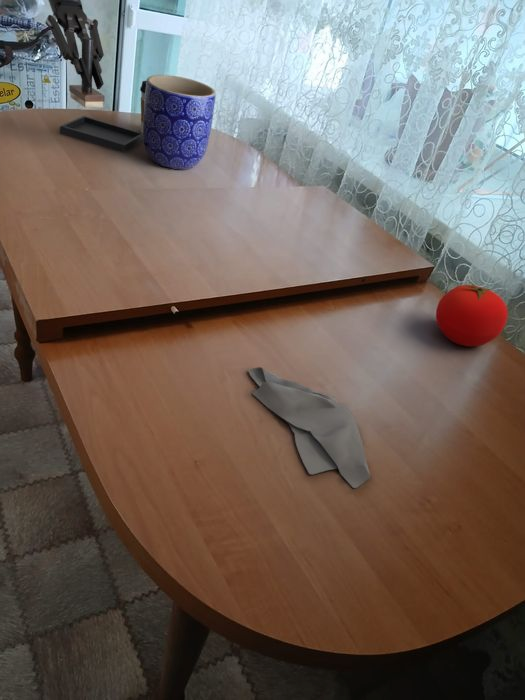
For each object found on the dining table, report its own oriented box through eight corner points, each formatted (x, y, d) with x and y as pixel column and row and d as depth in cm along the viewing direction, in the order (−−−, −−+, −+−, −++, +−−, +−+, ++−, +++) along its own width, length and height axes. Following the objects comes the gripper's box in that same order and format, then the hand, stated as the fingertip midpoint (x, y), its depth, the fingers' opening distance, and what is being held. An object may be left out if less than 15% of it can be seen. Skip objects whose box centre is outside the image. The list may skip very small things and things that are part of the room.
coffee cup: (132, 133, 167) (135, 81, 158) (144, 127, 174) (148, 76, 165) (157, 141, 166) (162, 89, 157) (168, 135, 173) (174, 84, 164)
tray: (60, 133, 155) (59, 125, 153) (83, 122, 165) (83, 115, 164) (124, 152, 153) (124, 145, 152) (144, 140, 164) (144, 133, 163)
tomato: (495, 364, 107) (524, 317, 100) (427, 345, 107) (451, 296, 100) (486, 330, 117) (512, 285, 110) (424, 312, 117) (446, 266, 110)
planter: (195, 180, 148) (206, 101, 136) (130, 163, 148) (135, 82, 136) (212, 160, 163) (223, 87, 150) (153, 144, 163) (159, 70, 151)
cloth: (399, 474, 78) (405, 463, 77) (321, 500, 72) (326, 489, 70) (307, 360, 95) (311, 350, 94) (238, 372, 88) (240, 362, 87)
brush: (69, 97, 142) (68, 32, 133) (88, 97, 146) (89, 34, 137) (84, 108, 138) (85, 42, 129) (104, 107, 142) (106, 43, 133)
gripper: (86, 6, 143) (116, 94, 145) (26, 0, 133) (60, 94, 135) (96, -13, 137) (128, 79, 139) (35, -21, 128) (70, 77, 129)
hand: (94, 86), depth 137 cm, fingers closed on brush, 3 cm apart
